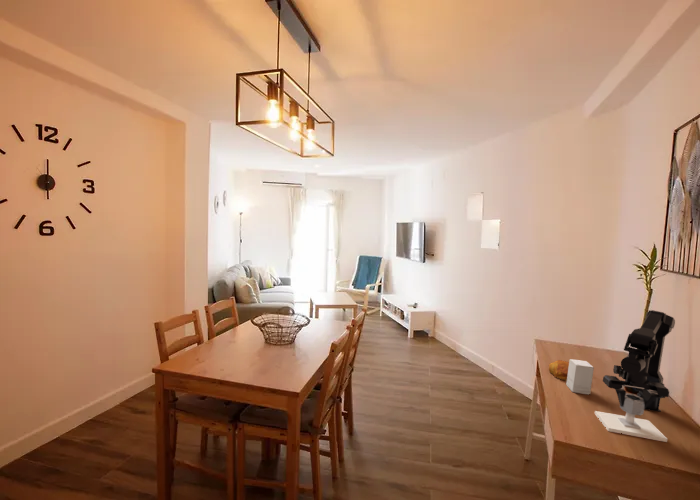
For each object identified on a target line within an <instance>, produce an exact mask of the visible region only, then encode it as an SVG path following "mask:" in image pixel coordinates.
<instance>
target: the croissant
mask: <svg viewBox="0 0 700 500" xmlns="http://www.w3.org/2000/svg"><path fill="white" fill-rule="evenodd" d="M568 367H569V361H565V360H562V359H561V360H560V359H557V360H555V361H553V362H551V363H549V365H548V371H549V373H550V374H551V375H552V376H553V377H555V378H557V379H558V380H561V381H566V382H567V375H568Z"/></svg>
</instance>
